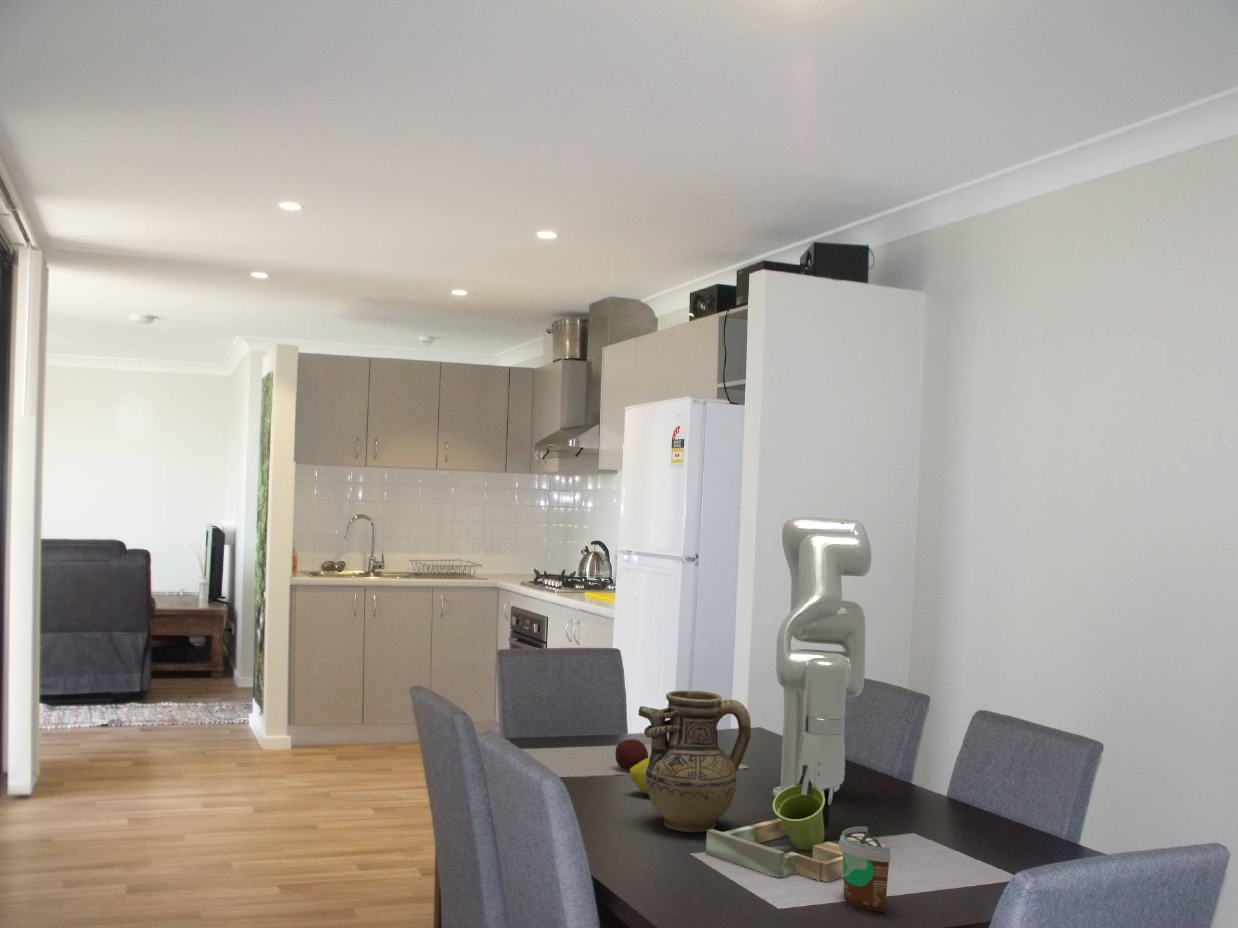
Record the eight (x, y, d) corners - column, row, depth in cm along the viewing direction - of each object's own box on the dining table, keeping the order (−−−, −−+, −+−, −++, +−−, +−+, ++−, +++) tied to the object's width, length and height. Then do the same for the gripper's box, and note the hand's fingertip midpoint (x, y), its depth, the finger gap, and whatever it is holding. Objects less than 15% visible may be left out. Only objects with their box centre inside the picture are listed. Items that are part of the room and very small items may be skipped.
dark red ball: (609, 767, 259) (611, 736, 260) (639, 765, 263) (641, 735, 263) (622, 774, 253) (624, 743, 253) (653, 773, 256) (655, 741, 256)
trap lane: (797, 829, 216) (798, 808, 216) (897, 858, 200) (898, 836, 200) (705, 853, 197) (706, 830, 197) (807, 888, 181) (808, 863, 182)
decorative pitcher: (740, 816, 223) (746, 690, 224) (752, 843, 205) (758, 705, 206) (631, 811, 222) (638, 684, 223) (633, 837, 205) (640, 699, 206)
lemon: (679, 792, 239) (681, 754, 240) (680, 801, 231) (682, 762, 232) (629, 789, 240) (631, 751, 240) (628, 798, 232) (630, 759, 232)
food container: (827, 886, 183) (829, 824, 183) (863, 887, 184) (866, 825, 184) (848, 913, 171) (851, 847, 171) (888, 914, 171) (891, 848, 172)
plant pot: (803, 865, 199) (793, 828, 195) (772, 838, 207) (762, 801, 203) (844, 838, 202) (835, 801, 199) (812, 813, 210) (803, 776, 207)
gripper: (829, 718, 215) (825, 814, 215) (783, 726, 205) (778, 827, 204) (863, 725, 210) (858, 823, 210) (817, 733, 200) (812, 837, 199)
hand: (819, 825), depth 207 cm, fingers closed
